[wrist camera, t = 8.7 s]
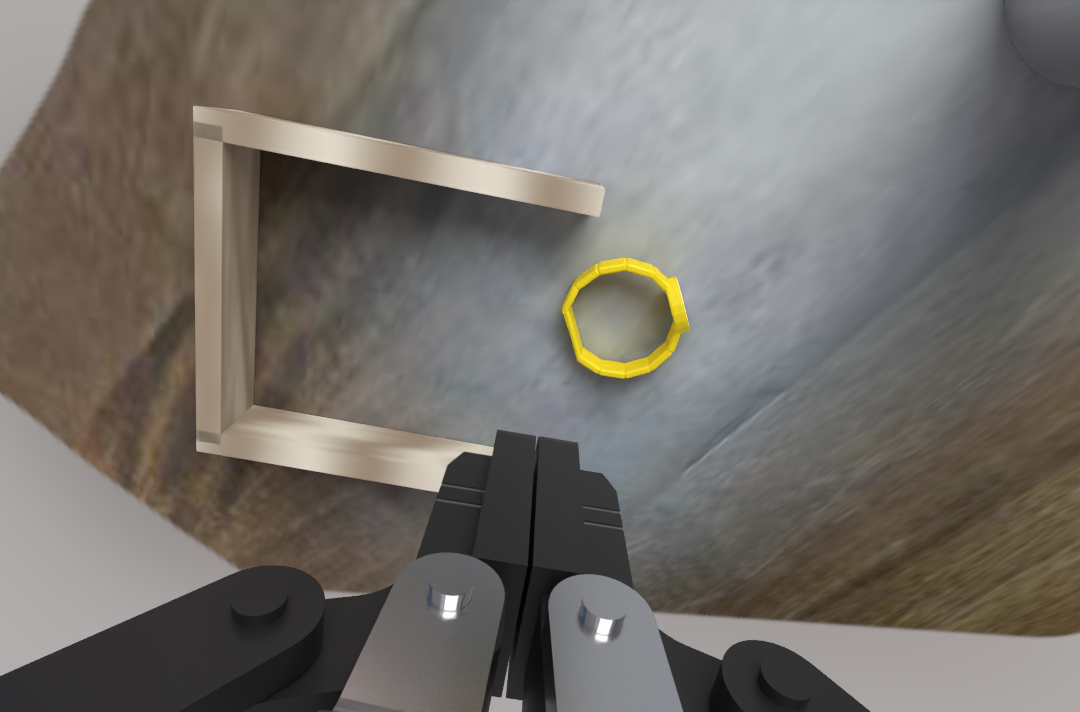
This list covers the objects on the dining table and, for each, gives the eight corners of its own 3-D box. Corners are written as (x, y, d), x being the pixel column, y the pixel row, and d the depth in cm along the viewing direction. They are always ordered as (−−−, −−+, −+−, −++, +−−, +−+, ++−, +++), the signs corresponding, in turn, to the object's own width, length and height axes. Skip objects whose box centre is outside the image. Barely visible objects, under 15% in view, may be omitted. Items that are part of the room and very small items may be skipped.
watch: (546, 289, 28) (668, 248, 27) (552, 274, 31) (664, 236, 29) (586, 396, 30) (703, 364, 29) (589, 374, 33) (696, 343, 31)
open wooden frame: (598, 183, 28) (605, 189, 25) (535, 473, 34) (534, 508, 31) (235, 110, 27) (193, 105, 24) (231, 420, 33) (196, 450, 30)
